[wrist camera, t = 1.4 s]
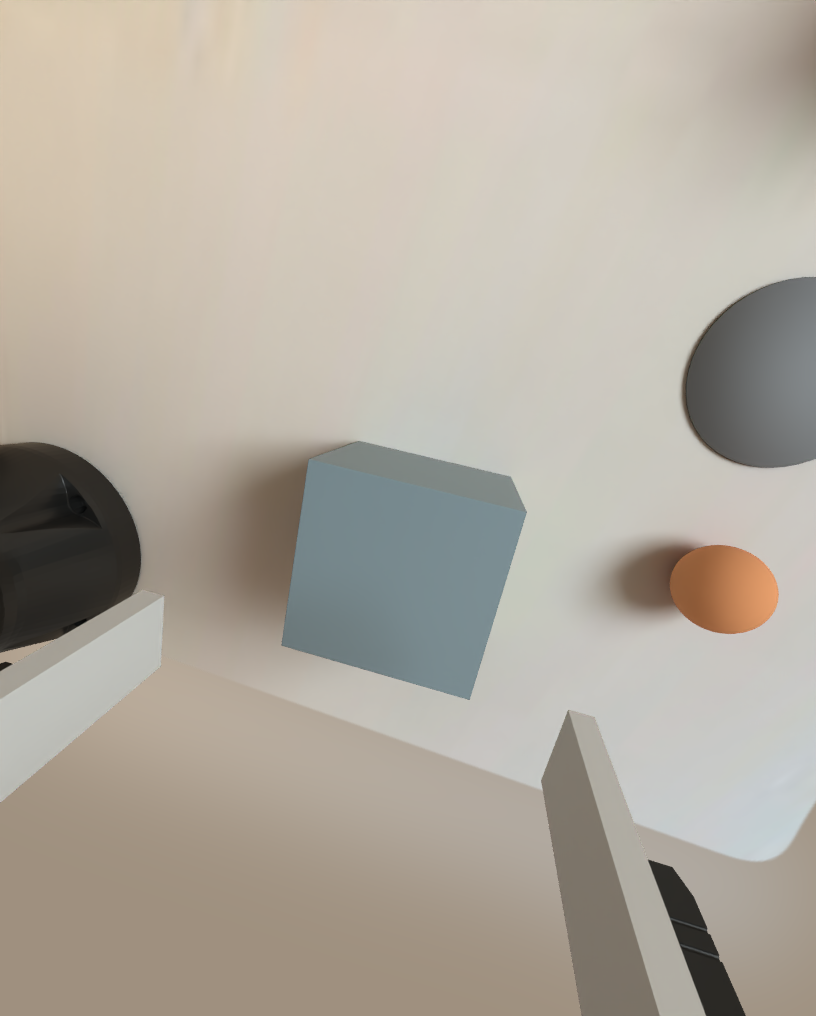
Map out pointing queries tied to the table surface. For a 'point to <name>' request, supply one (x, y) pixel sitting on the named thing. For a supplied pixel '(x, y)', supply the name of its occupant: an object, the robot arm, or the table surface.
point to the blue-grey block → (401, 564)
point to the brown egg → (724, 589)
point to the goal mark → (759, 378)
